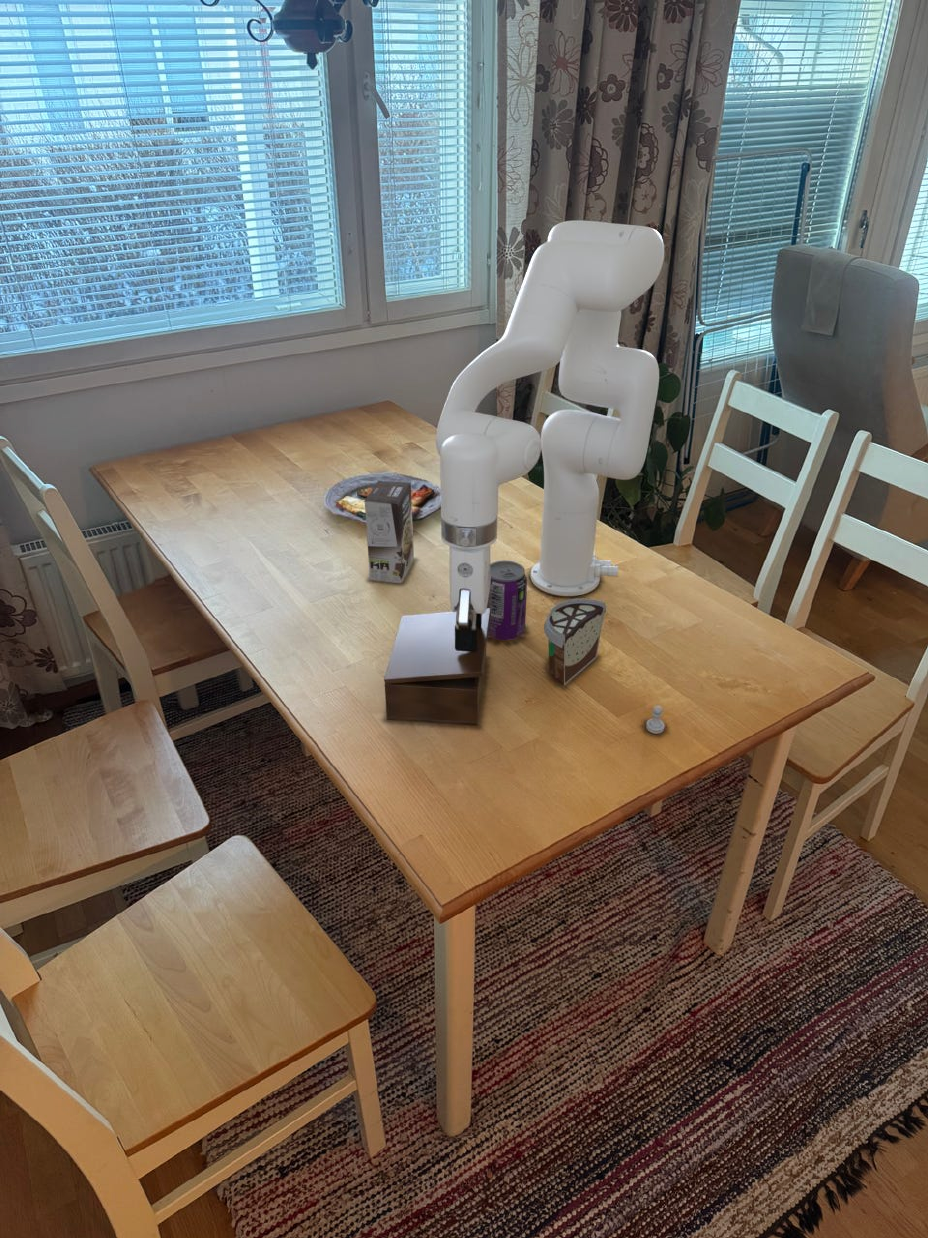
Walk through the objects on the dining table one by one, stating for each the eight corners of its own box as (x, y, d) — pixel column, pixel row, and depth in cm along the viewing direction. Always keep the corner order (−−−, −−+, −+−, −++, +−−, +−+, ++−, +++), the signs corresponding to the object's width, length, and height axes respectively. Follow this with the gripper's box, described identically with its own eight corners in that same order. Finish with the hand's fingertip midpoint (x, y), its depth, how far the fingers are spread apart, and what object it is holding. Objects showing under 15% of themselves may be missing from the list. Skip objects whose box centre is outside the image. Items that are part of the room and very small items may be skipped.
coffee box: (403, 584, 155) (399, 504, 146) (368, 580, 156) (362, 500, 147) (415, 559, 162) (412, 481, 153) (382, 556, 163) (377, 478, 154)
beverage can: (531, 638, 140) (535, 576, 134) (492, 648, 138) (493, 585, 132) (514, 616, 146) (516, 555, 139) (475, 625, 144) (476, 563, 137)
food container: (569, 639, 140) (573, 588, 135) (601, 653, 137) (607, 601, 131) (525, 675, 132) (528, 621, 127) (558, 690, 129) (562, 636, 124)
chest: (486, 659, 136) (486, 624, 132) (477, 726, 123) (477, 690, 119) (404, 654, 137) (402, 620, 133) (386, 720, 124) (384, 684, 120)
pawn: (656, 720, 124) (659, 698, 121) (667, 730, 122) (671, 709, 119) (641, 725, 123) (645, 704, 120) (653, 736, 121) (657, 714, 118)
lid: (491, 612, 131) (485, 581, 128) (482, 676, 117) (476, 644, 114) (403, 619, 133) (395, 589, 130) (384, 684, 120) (375, 652, 117)
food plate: (463, 496, 185) (463, 481, 183) (408, 543, 167) (407, 527, 165) (366, 474, 194) (365, 459, 192) (304, 515, 177) (302, 500, 175)
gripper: (491, 560, 106) (489, 675, 117) (501, 500, 121) (498, 608, 131) (432, 556, 107) (434, 672, 117) (449, 498, 121) (450, 605, 131)
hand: (468, 637), depth 124 cm, fingers closed on lid, 5 cm apart
